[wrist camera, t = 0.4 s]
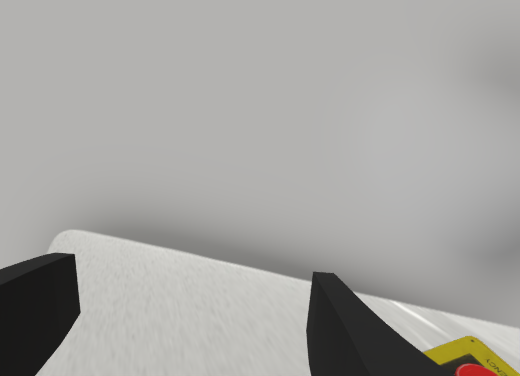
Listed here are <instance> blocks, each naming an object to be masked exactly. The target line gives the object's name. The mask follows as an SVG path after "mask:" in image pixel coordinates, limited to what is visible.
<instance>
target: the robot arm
mask: <svg viewBox="0 0 520 376" xmlns="http://www.w3.org/2000/svg"><path fill="white" fill-rule="evenodd" d="M80 313H81V312H80V302H79V292H78V282H77V272H76V262H75V254H66V253H51V254H47V255H43V256H39V257H36V258H33V259H30V260H27V261H23V262H20V263H17V264H14V265H12V266H9V267H6V268H3V269H0V376H35V375H36V374H37V373H38V371H39V370H40V369H41V368H42V367H43V365H44V364H45V363H46V362H47V360H48V359H49V358H50V357H51V356H52V354H53V353H54V352H55V351H56V349H57V348H58V347H59V346H60V344H61V343H62V341H63V340H64V338H65V337H66V335H67V334H68V332H69V331H70V329H71V328H72V326H73V324H74V323H75V321H76V319H77V318H78V316H79V314H80ZM306 333H307V347H308V358H309V366H310V371H311V376H455V375H454V374H452V373H451V372H449V371H448V370H446V369H445V368H443V367H442V366H440V365H439V364H437V363H436V362H435V361H433V360H432V359H431V358H429V357H428V356H426V355H425V354H424V353H422V352H421V351H420V350H418V349H417V348H415V347H414V346H413V345H412V344H410V343H409V342H408V341H406V340H405V339H404V338H403V337H402V336H400V335H399V334H398V333H397V332H396V331H394V330H393V329H392V328H391V327H390V326H389V325H387V324H386V323H385V322H384V321H383V320H382V319H381V318H379V317H378V316H377V315H376V314H375V313H374V312H373V311H372V310H371V309H370V308H369V307H368V306H366V305H365V304H364V303H363V302H362V301H361V300H360V299H359V298H358V297H357V296H356V295H355V294H354V293H353V292H352V291H351V290H350V289H349V288H348V287H347V286H346V285H345V284H344V283H343V282H342V281H341V280H340V279H339V278H338V277H337V276H336V275H335V274H334V273H323V272H313V278H312V286H311V294H310V303H309V311H308V320H307V328H306Z"/></svg>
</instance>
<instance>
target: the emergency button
mask: <svg viewBox="0 0 520 376" xmlns="http://www.w3.org/2000/svg"><path fill="white" fill-rule="evenodd" d="M422 353H424V354H425V355H426V356H428V357H429V358H431V359H432V360H433V361H435V362H436V363H437V364H439V365H440V366H442V367H443V368H445V369H446V370H448V371H449V372H451V373H452V374H454V375H455V376H520V374H519V373H518V372H516V371H515V370H514V369H513V368H512V367H511V366H510V365H508V364H507V363H506V362H505V361H504V360H503V359H502V358H500V357H499V356H498V355H497V354H496V353H495V352H493V351H492V350H491V349H490V348H489V347H488V346H487V345H485V344H484V343H483V342H482V341H480V340H479V339H477V338H475V337H473V336H465V337H463V338H460V339H457V340H454V341H452V342H449V343H446V344H443V345H441V346H438V347H435V348H432V349H429V350H427V351H424V352H422Z"/></svg>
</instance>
